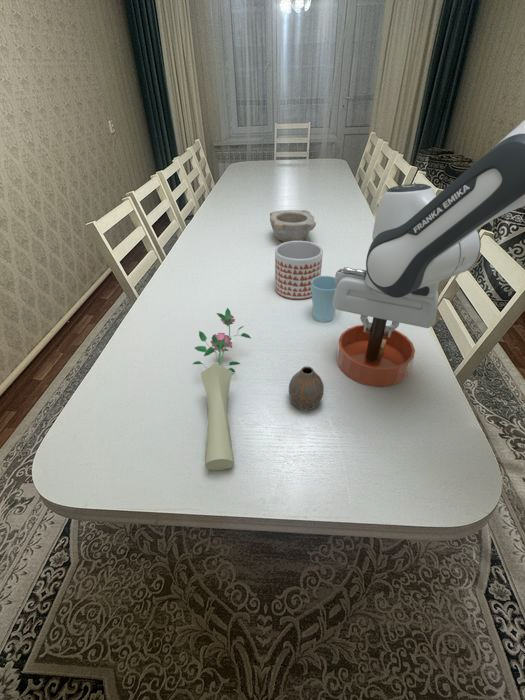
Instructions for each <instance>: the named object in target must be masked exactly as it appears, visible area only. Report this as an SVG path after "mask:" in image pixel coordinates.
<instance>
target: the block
mask: <svg viewBox="0 0 525 700" xmlns="http://www.w3.org/2000/svg"><path fill="white" fill-rule="evenodd" d="M385 345H386V340H385V339H383V340H382V344H381V348H380V353H379V357H378V359H379V360H381V358H382V355H383V353H384V349H385ZM367 346H368V345H367ZM366 351H367V350H366ZM365 356H366V355H365Z"/></svg>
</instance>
